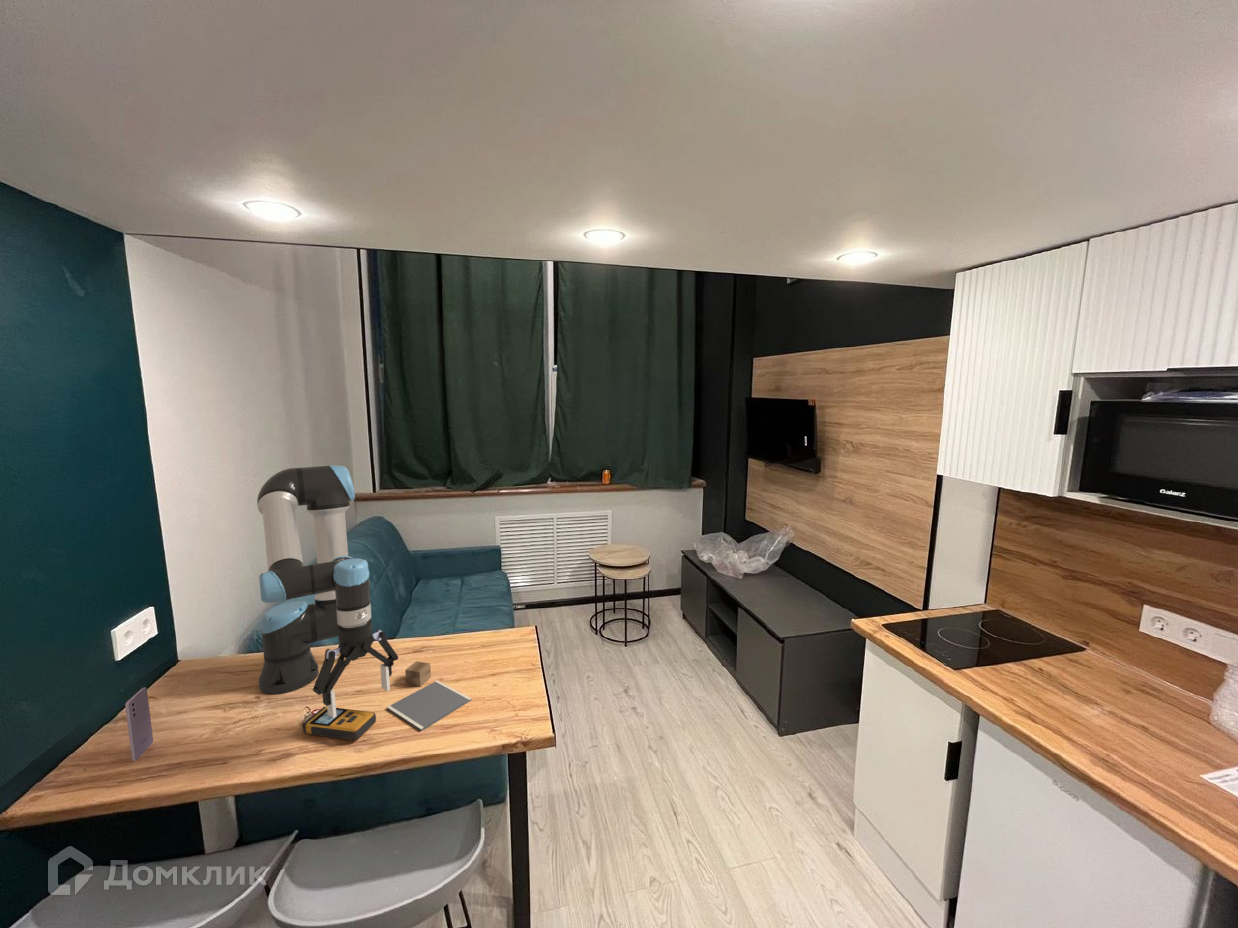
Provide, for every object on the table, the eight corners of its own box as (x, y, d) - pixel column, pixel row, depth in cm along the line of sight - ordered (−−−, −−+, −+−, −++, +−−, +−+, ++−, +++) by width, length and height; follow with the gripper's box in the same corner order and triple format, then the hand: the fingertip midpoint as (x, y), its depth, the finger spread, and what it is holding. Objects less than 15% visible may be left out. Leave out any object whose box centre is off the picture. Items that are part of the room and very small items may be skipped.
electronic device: (356, 743, 121) (354, 731, 121) (302, 735, 124) (300, 723, 124) (378, 721, 129) (377, 709, 129) (327, 714, 132) (326, 703, 132)
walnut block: (406, 685, 147) (405, 669, 146) (416, 676, 152) (416, 661, 151) (420, 687, 146) (419, 671, 145) (430, 678, 151) (430, 663, 150)
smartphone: (150, 742, 122) (143, 686, 120) (154, 741, 122) (147, 685, 120) (131, 762, 115) (124, 703, 113) (136, 762, 115) (128, 702, 113)
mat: (386, 709, 135) (386, 706, 135) (437, 682, 148) (437, 680, 148) (421, 731, 126) (421, 728, 126) (471, 700, 139) (471, 698, 139)
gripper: (307, 646, 110) (314, 733, 112) (409, 608, 130) (413, 683, 132) (292, 637, 114) (299, 721, 116) (393, 602, 134) (397, 674, 137)
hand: (360, 701), depth 124 cm, fingers open, 13 cm apart
